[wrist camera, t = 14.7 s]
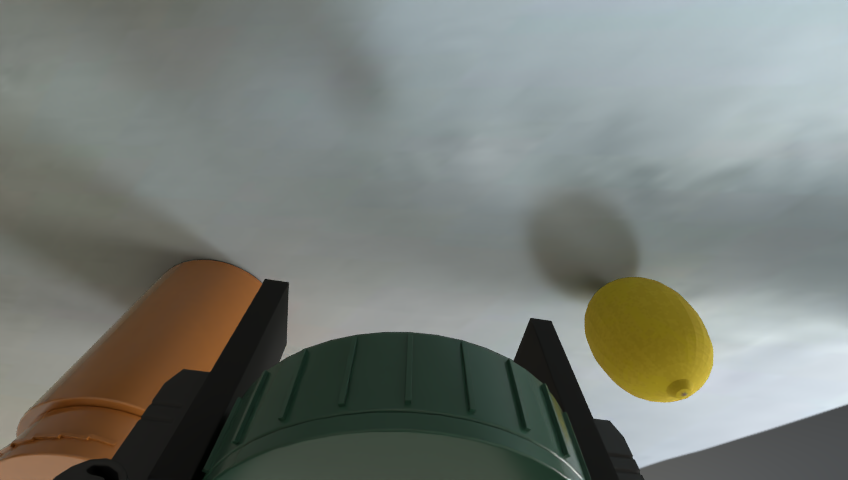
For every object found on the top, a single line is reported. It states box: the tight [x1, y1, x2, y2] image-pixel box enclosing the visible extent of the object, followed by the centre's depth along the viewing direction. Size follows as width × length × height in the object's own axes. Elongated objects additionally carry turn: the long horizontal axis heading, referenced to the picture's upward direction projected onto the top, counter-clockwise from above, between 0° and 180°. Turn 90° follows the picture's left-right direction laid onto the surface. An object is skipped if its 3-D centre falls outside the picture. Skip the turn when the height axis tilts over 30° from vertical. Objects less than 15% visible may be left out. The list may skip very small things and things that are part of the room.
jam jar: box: [0, 260, 262, 480], centre depth 21 cm, size 8×8×12 cm
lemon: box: [585, 277, 713, 402], centre depth 22 cm, size 6×6×8 cm
